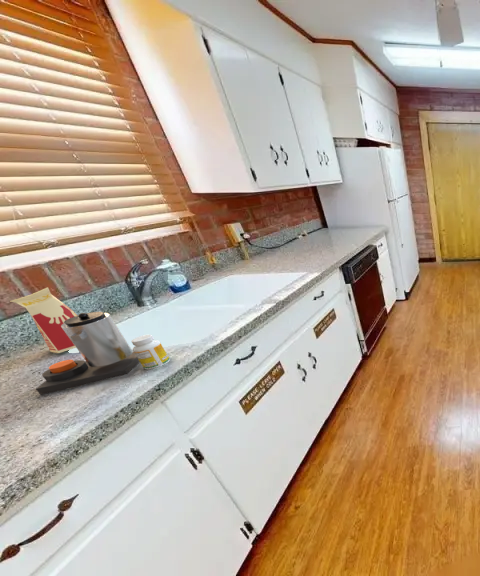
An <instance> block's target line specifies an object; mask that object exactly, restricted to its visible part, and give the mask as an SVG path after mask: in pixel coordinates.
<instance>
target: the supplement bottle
mask: <svg viewBox="0 0 480 576" xmlns="http://www.w3.org/2000/svg"><path fill="white" fill-rule="evenodd" d="M131 343H132V345H133V348H132V351H133V352H134V353H135V355H136V357H137V358H138V360H139V361H140V363H139V364H140V365H141V366H142V368H143V369H144V370H152V369H156V368H158V367H162V366H164V365H166V364H167V363H169V362H170V361H171V358H170V357H169V355H168V353H167V351H166V350H165V348H164V347H163V345H162V343H161V341H159V340H158V339H155V337H154V336H153V335H152V334H143V335H139V336H137V337H135V338H133V339H131Z"/></svg>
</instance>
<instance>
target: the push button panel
mask: <svg viewBox="0 0 480 576" xmlns="http://www.w3.org/2000/svg"><path fill="white" fill-rule="evenodd" d="M73 361H74V362H75V363H76V365H77V366H75V367H73V368H71V369H69V370H66V371H63V372H60V373H52V372H51V371H50V369H49V368H48V369H47V370H46V371H43V373H41V376H42V377H43V379H44V380H45V381H44V382H42V383H41V384H40V385H38V386H37V387H36V388H35V390H36V392H37V393H38V394H39V395H40V396H44V395H49V394H52V393H57V392H61V391H65V390H69V389H73V388H78V387H81V386H86V385H90V384H94V383H98V382H102V381H103V382H104V381H106V380H110V379H114V378H118V377H124V376H127V375H129V374H130V373H131V372H132V371H133V370H134V369H135V368H136V367H137V366H138V365H139V364H141V363H140V361H139V360H138V358H137V357H136V355H135V353H134V352H133V353H132V354H131V355H130V356H128V357H127V358H125V359H123V360H121V361H118V362H115V363H112V364H109V365H105V366H100V367H91V366H89V364H88V363H87V362H86V360H85V359H76V360H73Z"/></svg>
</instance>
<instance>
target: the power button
mask: <svg viewBox="0 0 480 576" xmlns="http://www.w3.org/2000/svg"><path fill="white" fill-rule="evenodd" d="M74 361H75V360H74V359H65V360H61V361H57V362H55V363H53V364H51V365H50V366H48V369H50V371H51V372H52V373H60V372H63V371H66V370H69V369H71V368H73V367H75V366H77V365H76V363H75V362H74Z"/></svg>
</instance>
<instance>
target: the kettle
mask: <svg viewBox="0 0 480 576" xmlns="http://www.w3.org/2000/svg"><path fill="white" fill-rule="evenodd" d="M61 327H62V329H63V330H64V331H65V333H66V334H67V336H68V337H69V338H70V340H71V341H72V342H73V344H74V345H75V347H76V348H75V349H77V351H78V352H79V354H80V355H81V356H82V358H83V360H84V361H86V362H87V363H88V364H89V366H91V367H100V366H105V365H109V364H112V363H115V362H118V361H121V360H123V359H125V358H127V357H128V356H130V355H131V354H132V353H133V348H131V346H130V345H129V342H128V341H127V340H126V338H125V337H124V335H123V334H122V332H121V331H120V329H119V327H118V326H117V324H116V322H115V321H114V319H113V318H112V316H111V314H110V313H108V312H104V311H92V312H80V313H79V314H77V316H75V317H72V318H70V319H67V320H66V321H64V324H62V325H61Z"/></svg>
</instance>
